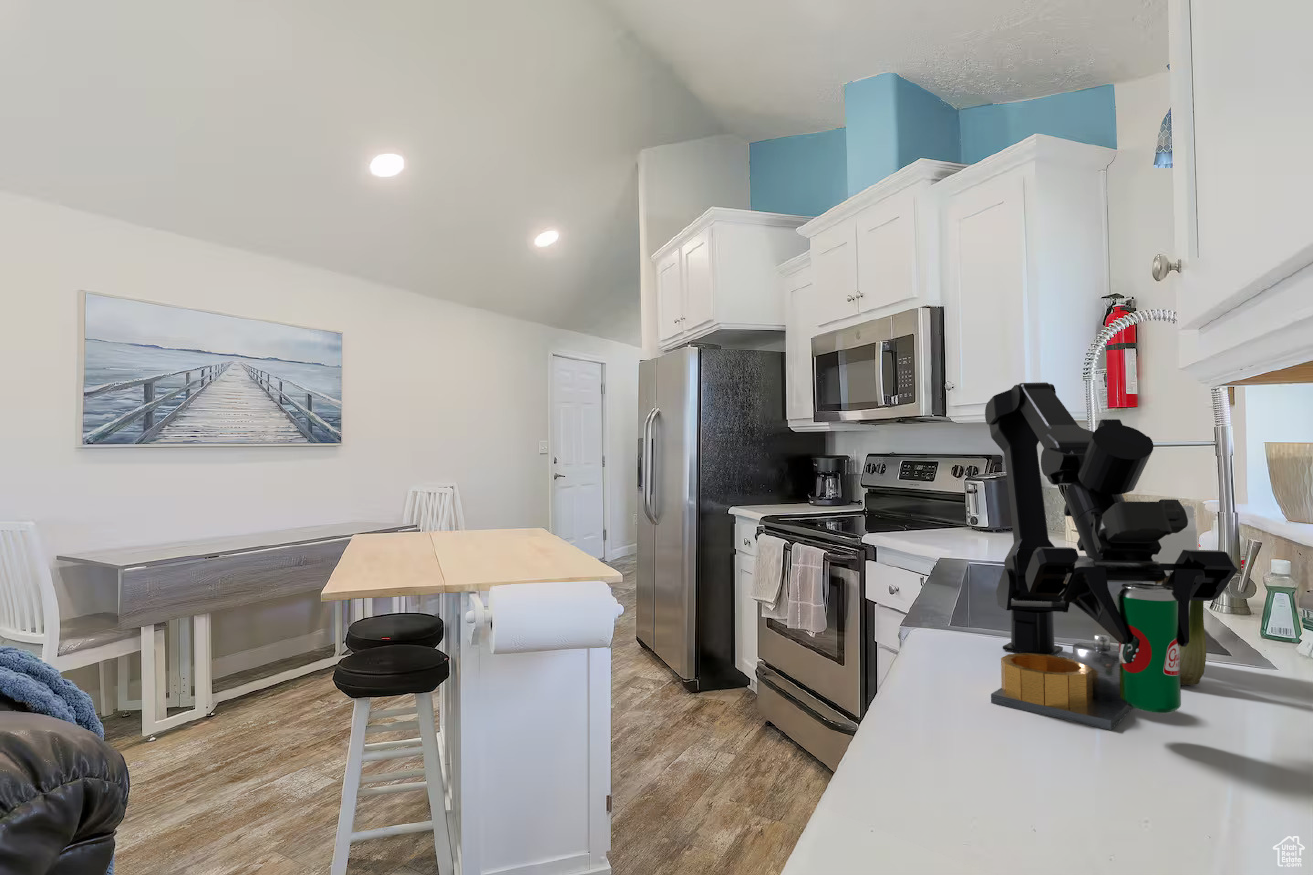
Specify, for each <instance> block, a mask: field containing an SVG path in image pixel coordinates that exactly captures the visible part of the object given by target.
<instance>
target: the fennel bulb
mask: <svg viewBox="0 0 1313 875" xmlns="http://www.w3.org/2000/svg"><path fill="white" fill-rule="evenodd" d="M1204 602H1205V601H1194V600H1191V601H1190V614H1189V643H1188V645H1187V646H1186V647H1181V646H1180V644H1179V647H1180V685H1181V686H1197V685H1199V684H1200V681H1201V679H1202V677H1203V675H1204V673H1205V669H1206V661H1207V660H1206V659H1207V642H1206V641H1207V640H1206V639H1207V638H1206V634H1205V633H1206V632H1205V631H1206V630H1205V623H1204Z"/></svg>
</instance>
